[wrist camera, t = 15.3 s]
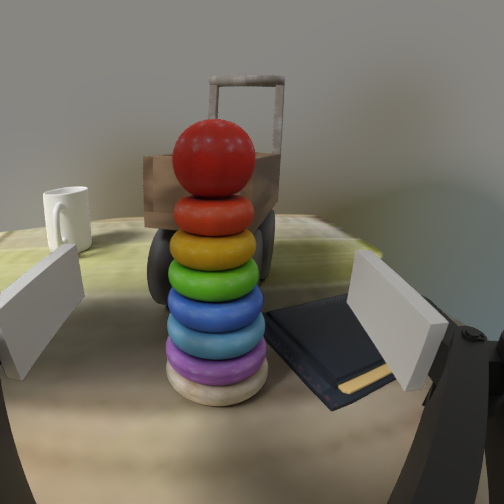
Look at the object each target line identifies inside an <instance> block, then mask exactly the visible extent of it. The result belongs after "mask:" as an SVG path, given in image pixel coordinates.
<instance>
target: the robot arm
mask: <svg viewBox="0 0 504 504" xmlns="http://www.w3.org/2000/svg"><path fill="white" fill-rule="evenodd" d="M84 297H85V295H84V289H83V283H82V277H81V271H80V265H79V258H78V250H77V244H62V245H61V246H60V247H58V248H57V249H56V250H54V251H53V252H52V253H50V254H49V255H48V256H46V257H45V258H44V259H42V260H41V261H40V262H38V263H37V264H36V265H35V266H33V267H32V268H31V269H29V270H28V271H27V272H26V273H24V274H23V275H22V276H21V277H19V278H18V279H17V280H16V281H15V282H13V283H12V284H11V285H10V286H8V287H7V288H6V289H5V290H4V291H3V292H1V293H0V365H2V367H3V369H4V371H5V374H6V376H7V377H9V378H12V379H16V380H19V381H23V379H24V378H25V376H26V375H27V373H28V372H29V370H30V369H31V367H32V366H33V364H34V363H35V362H36V360H37V359H38V357H39V356H40V354H41V353H42V352H43V350H44V349H45V347H46V346H47V345H48V343H49V342H50V341H51V339H52V338H53V337H54V335H55V334H56V333H57V331H58V330H59V329H60V327H61V326H62V325H63V323H64V322H65V321H66V319H67V318H68V317H69V315H70V314H71V313H72V312H73V310H74V309H75V308H76V307H77V305H78V304H79V303H80V301H81V300H82V299H83V298H84ZM347 304H348V305H349V306H350V308H351V309H352V311H353V312H354V314H355V315H356V317H357V318H358V320H359V321H360V323H361V325H362V326H363V328H364V329H365V331H366V332H367V334H368V335H369V337H370V338H371V340H372V341H373V343H374V344H375V346H376V348H377V349H378V351H379V352H380V354H381V355H382V357H383V358H384V360H385V362H386V363H387V365H388V366H389V368H390V369H391V371H392V373H393V374H394V376H395V377H396V379H397V381H398V382H399V384H400V386H401V387H402V389H403V390H404V392H408V391H413V390H418V389H422V388H423V385H424V383H425V381H426V379H427V377H428V375H429V377H430V378H431V379H432V381H433V384H432V386H431V388H430V390H429V392H428V394H427V396H426V398H425V400H424V402H423V404H422V405H423V406H425V407H424V410H423V414H422V417H421V420H420V423H419V426H418V429H417V432H416V435H415V437H414V440H413V443H412V446H411V448H410V451H409V454H408V456H407V459H406V461H405V464H404V466H403V469H402V471H401V474H400V476H399V478H398V480H397V483H396V485H395V487H394V489H393V492H392V494H391V496H390V498H389V500H388V502H387V504H474V503H475V499H476V494H477V490H478V485H479V479H480V474H481V468H482V461H483V454H484V449H485V457H486V466H487V476H488V489H489V504H504V331H503V332H502V334H501V337H500V339H499V341H488V340H487V337H486V336H485V335H484V334H483V333H482V332H481V331H479V330H478V329H476V328H473V327H469V326H459V327H458V326H457V325H456V324H455V323H454V322H453V321H452V320H451V319H450V318H449V317H448V316H447V315H446V314H445V313H442V311H441V310H440V309H439V308H437V306H436V305H435V304H434V303H433V302H432V301H431V300H429V299H427V298H426V297H424V296H422V295H420V294H419V293H418V292H416V291H415V290H414V289H413V288H412V287H411V286H410V285H409V284H408V283H407V282H406V281H404V280H403V279H402V278H401V277H400V276H399V275H398V274H397V273H395V272H394V271H393V270H392V269H391V268H390V267H389V266H388V265H386V264H385V263H384V262H383V261H382V260H381V259H380V258H378V257H377V256H376V255H375V254H374V253H373V252H371V251H370V250H356V252H355V258H354V264H353V270H352V276H351V281H350V287H349V292H348V298H347ZM0 504H36V502H35V500H34V497H33V495H32V492H31V490H30V487H29V485H28V482H27V479H26V476H25V474H24V471H23V468H22V465H21V462H20V459H19V456H18V453H17V449H16V446H15V443H14V439H13V435H12V432H11V428H10V424H9V420H8V416H7V411H6V407H5V402H4V397H3V392H2V386H1V380H0Z"/></svg>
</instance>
